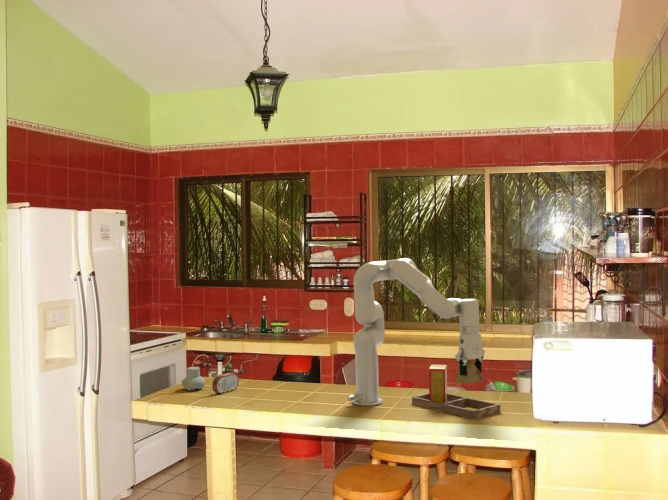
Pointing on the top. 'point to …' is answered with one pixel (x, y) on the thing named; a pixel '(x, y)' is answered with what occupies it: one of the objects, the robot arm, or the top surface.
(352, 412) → the top surface
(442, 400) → the baking soda box
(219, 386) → the tin
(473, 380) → the rock
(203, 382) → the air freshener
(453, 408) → the divided brown tray
